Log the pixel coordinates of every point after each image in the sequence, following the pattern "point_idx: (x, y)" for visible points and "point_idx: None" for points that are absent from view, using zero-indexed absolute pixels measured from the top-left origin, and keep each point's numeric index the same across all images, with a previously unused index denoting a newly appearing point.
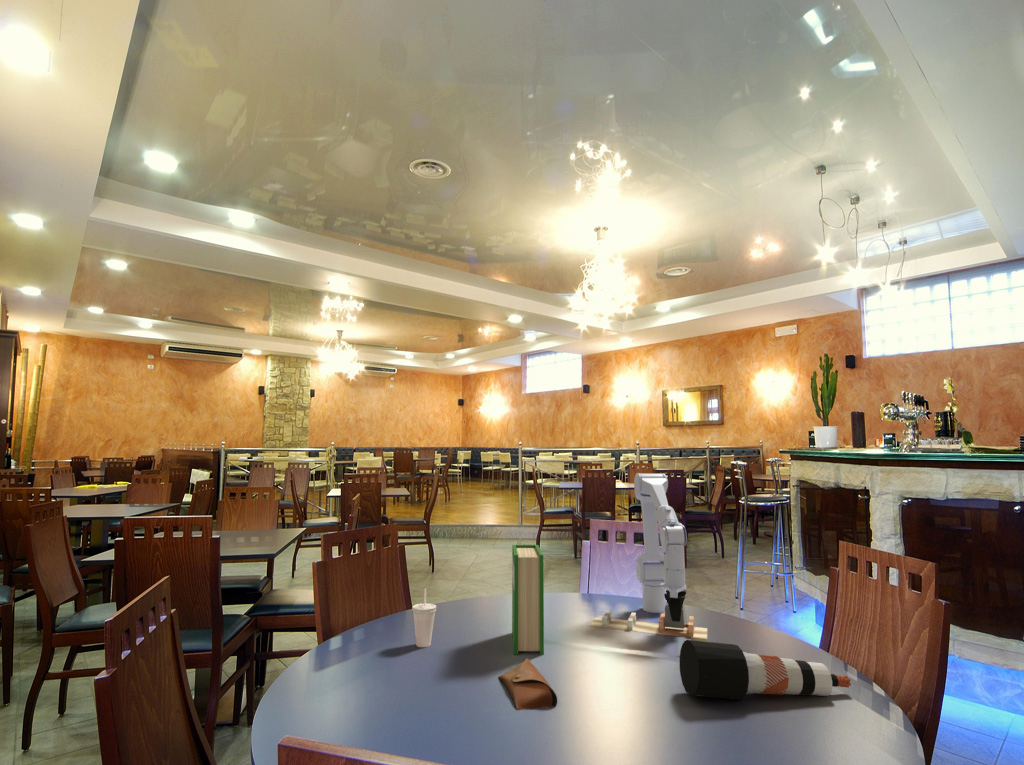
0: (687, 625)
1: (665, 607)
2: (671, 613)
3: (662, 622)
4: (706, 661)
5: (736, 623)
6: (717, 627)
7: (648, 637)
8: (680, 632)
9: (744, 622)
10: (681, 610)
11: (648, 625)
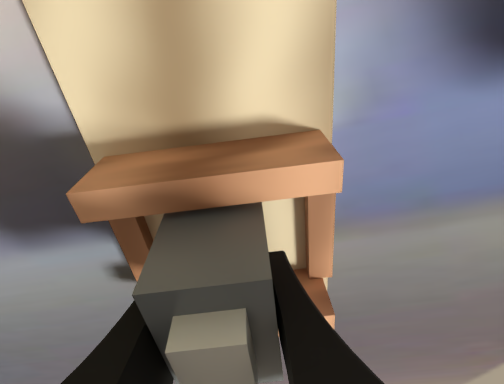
0: (308, 267)
1: (164, 295)
2: (134, 309)
3: (80, 218)
4: None
5: (469, 353)
6: (401, 320)
7: (57, 87)
8: (138, 269)
9: (485, 366)
10: (169, 379)
11: (244, 42)
